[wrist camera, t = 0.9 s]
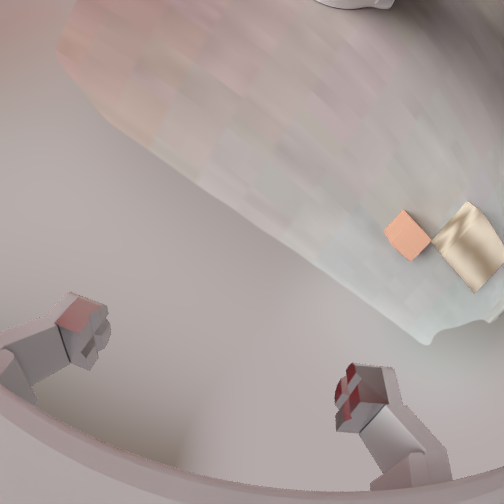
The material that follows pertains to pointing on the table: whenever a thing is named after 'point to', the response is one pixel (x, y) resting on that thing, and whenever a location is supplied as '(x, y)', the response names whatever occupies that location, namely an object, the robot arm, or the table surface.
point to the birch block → (470, 246)
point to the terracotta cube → (407, 235)
